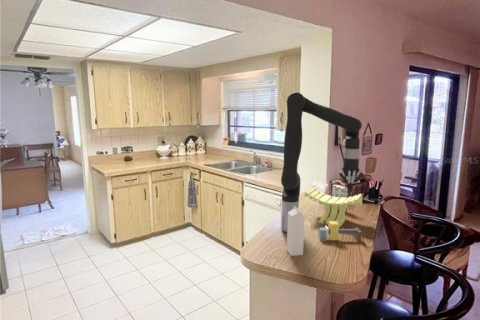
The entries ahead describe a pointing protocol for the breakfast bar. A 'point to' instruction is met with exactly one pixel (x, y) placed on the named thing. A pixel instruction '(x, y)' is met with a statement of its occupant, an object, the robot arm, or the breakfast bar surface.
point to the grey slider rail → (347, 231)
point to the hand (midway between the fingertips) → (349, 189)
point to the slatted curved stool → (333, 205)
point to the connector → (322, 234)
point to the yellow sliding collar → (333, 230)
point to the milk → (295, 232)
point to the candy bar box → (339, 192)
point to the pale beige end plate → (327, 230)
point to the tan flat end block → (358, 235)
